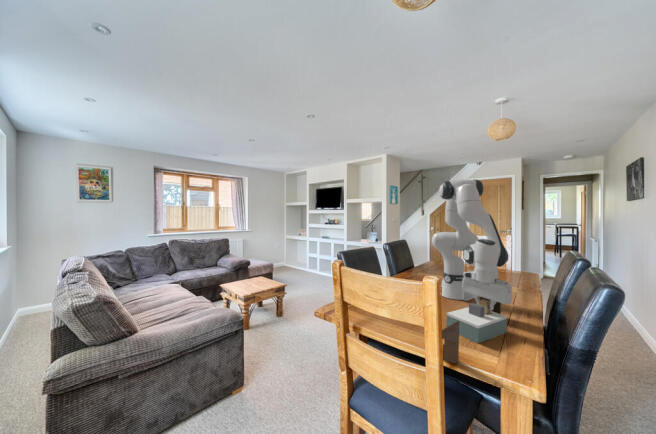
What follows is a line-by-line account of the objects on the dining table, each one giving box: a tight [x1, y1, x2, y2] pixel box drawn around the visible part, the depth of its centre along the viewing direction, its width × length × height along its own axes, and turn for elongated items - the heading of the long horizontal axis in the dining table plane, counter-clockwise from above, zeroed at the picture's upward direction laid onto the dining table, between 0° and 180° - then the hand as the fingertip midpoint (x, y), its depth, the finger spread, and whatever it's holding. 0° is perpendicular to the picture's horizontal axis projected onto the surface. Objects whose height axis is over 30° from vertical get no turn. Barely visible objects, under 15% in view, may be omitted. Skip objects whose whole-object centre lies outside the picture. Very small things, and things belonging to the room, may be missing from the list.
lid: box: [446, 302, 508, 328], centre depth 109 cm, size 20×14×5 cm
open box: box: [446, 314, 508, 344], centre depth 110 cm, size 20×14×6 cm
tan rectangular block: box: [479, 299, 491, 315], centre depth 112 cm, size 4×4×12 cm
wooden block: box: [441, 320, 460, 365], centre depth 90 cm, size 4×11×18 cm, turn 38°
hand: (484, 307), depth 112 cm, fingers closed on tan rectangular block, 3 cm apart
